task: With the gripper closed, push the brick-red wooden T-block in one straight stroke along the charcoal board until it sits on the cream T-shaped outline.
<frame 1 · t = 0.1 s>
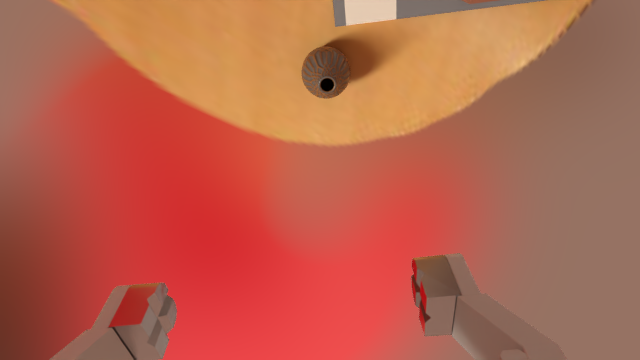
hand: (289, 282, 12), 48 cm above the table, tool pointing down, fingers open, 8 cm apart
vase: (325, 64, 56), on the table
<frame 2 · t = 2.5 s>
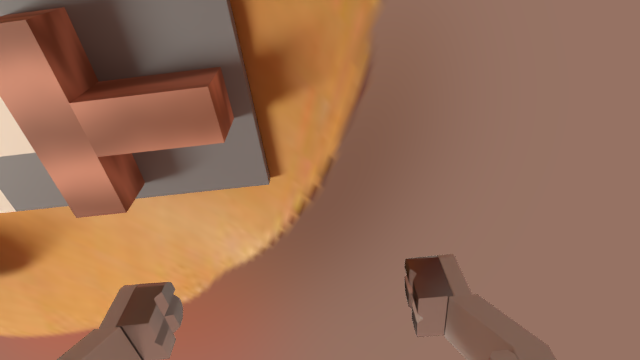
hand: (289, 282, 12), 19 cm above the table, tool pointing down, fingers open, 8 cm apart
board: (51, 109, 29), on the table
t block: (116, 106, 28), point 1 cm above the table, touching board
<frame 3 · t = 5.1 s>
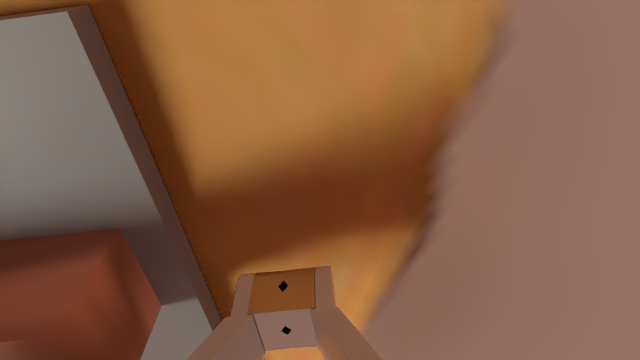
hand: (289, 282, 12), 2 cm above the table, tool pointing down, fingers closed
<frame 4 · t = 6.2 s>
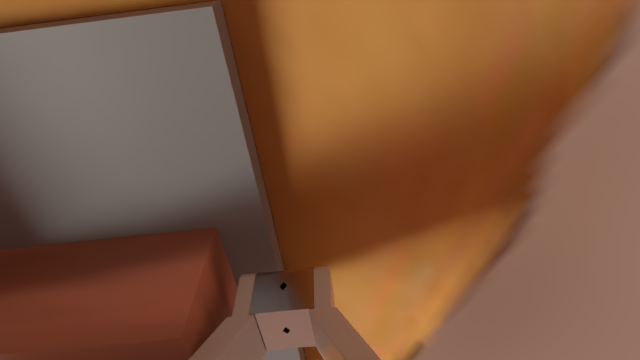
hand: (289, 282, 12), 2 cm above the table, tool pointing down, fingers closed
t block: (3, 292, 14), point 1 cm above the table, touching gripper
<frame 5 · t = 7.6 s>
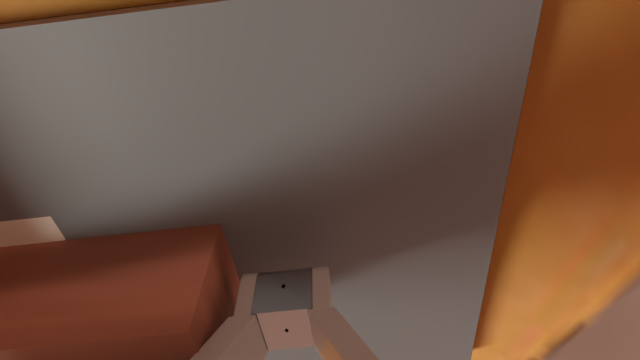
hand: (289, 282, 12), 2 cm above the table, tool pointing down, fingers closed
board: (73, 263, 14), on the table
t block: (7, 289, 14), point 1 cm above the table, touching gripper
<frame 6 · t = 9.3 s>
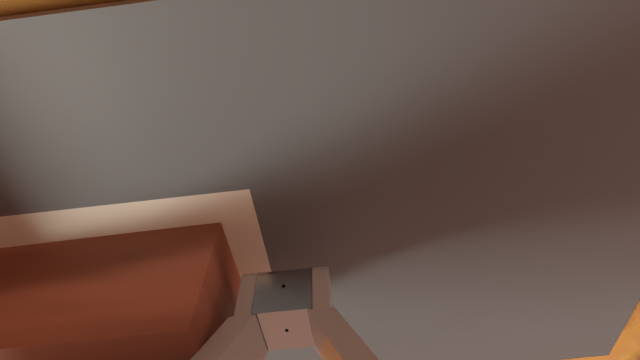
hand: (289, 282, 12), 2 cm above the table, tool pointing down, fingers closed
board: (237, 241, 14), on the table
t block: (10, 289, 14), point 1 cm above the table, touching board, gripper
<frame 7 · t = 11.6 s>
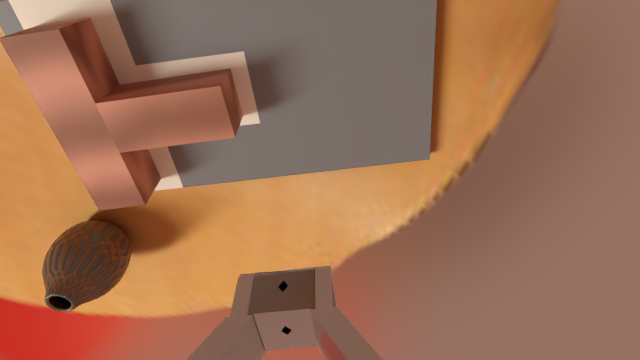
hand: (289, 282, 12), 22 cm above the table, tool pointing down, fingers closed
vase: (107, 234, 40), on the table
board: (239, 86, 31), on the table
t block: (135, 107, 31), point 1 cm above the table, touching board
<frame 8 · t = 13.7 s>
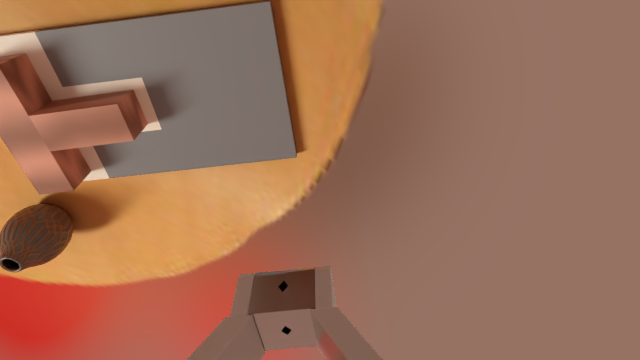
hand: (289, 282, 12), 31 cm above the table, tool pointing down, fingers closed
vase: (55, 215, 50), on the table
board: (144, 102, 41), on the table
t block: (66, 117, 41), point 1 cm above the table, touching board
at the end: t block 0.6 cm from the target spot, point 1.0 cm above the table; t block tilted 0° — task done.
